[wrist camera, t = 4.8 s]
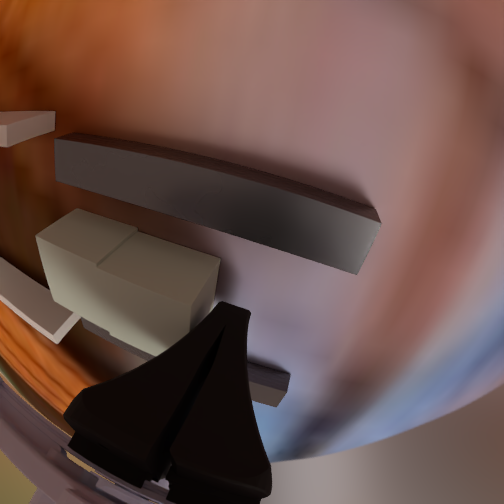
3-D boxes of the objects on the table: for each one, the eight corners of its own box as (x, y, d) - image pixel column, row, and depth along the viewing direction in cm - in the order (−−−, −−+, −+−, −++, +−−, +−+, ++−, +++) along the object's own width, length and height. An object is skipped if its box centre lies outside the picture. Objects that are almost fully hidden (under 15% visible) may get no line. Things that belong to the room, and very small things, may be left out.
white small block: (210, 323, 14) (187, 369, 11) (140, 296, 14) (110, 334, 12) (220, 258, 12) (191, 305, 9) (137, 231, 12) (96, 267, 9)
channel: (280, 390, 16) (276, 407, 14) (93, 316, 17) (83, 327, 16) (375, 208, 9) (381, 223, 8) (73, 132, 10) (54, 138, 9)
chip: (141, 293, 14) (110, 332, 12) (86, 269, 14) (53, 300, 12) (137, 227, 12) (96, 263, 9) (77, 207, 12) (35, 235, 10)
